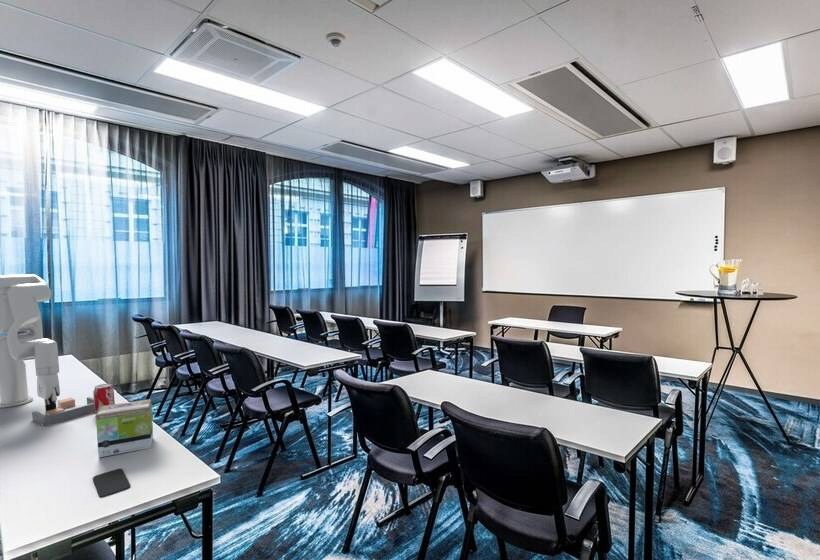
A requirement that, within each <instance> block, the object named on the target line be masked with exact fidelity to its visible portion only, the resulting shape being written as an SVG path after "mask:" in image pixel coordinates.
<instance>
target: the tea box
mask: <svg viewBox="0 0 820 560" xmlns="http://www.w3.org/2000/svg"><path fill="white" fill-rule="evenodd" d="M152 410H153V409H152V399H151V398H150V399H143V400H136V401H129V402H124V403H123V402H122V403H115V404H114V405H107V406H101V408H100V410H99V412H98V414H97V415H96V414H95V421H96V422H95V423H96V437H97V439H96V440H97V453H98V459H101V458H105V457H108V456H114V455H119V454H124V453H130V452H135V451H142V450H149V449H151V448H152V442H153V439H154V429H153V428H154V426H153V425H154V424H153V411H152Z"/></svg>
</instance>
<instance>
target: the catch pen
mask: <svg viewBox="0 0 820 560" xmlns="http://www.w3.org/2000/svg"><path fill="white" fill-rule="evenodd" d="M94 411H95V409H94V397H92V396H87V397H86V404H85V405H81V406H77V407H73V408H70V409H67V410H66V409H65V411H62V412H59V413H55V414H51V415H48V416H46V415H45V414H44V413H41V412H39V411H36V410H34V411H31V415H32V418H31V419H32V421H33V420H34V422H36V423H38V424H40V425H42V424H43V425H42V426H44V427H45V426H46V425H47V426H49V424H50V425H53V424H52V423H54V424H57V423H60V422H63V420H64V421H66V420H67V421H68V420H71V419H75V418H77V416H78V417H81V416H84V414H85V415H88V414H91V413H90V412H92V413H95V412H94ZM87 413H88V414H87ZM70 418H71V419H70ZM56 422H57V423H56Z"/></svg>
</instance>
